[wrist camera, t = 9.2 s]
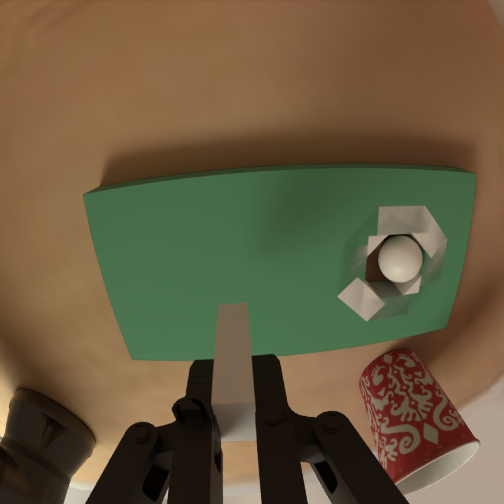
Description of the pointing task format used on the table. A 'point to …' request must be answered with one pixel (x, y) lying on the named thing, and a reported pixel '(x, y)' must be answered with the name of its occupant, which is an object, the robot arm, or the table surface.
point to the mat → (278, 255)
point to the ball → (400, 259)
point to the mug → (413, 422)
